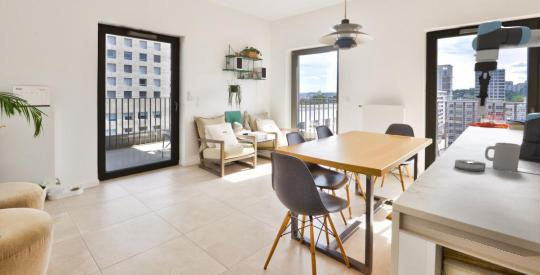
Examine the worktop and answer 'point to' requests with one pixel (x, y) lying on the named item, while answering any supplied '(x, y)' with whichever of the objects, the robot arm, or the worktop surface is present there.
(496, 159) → the mug
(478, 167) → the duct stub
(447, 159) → the worktop surface
